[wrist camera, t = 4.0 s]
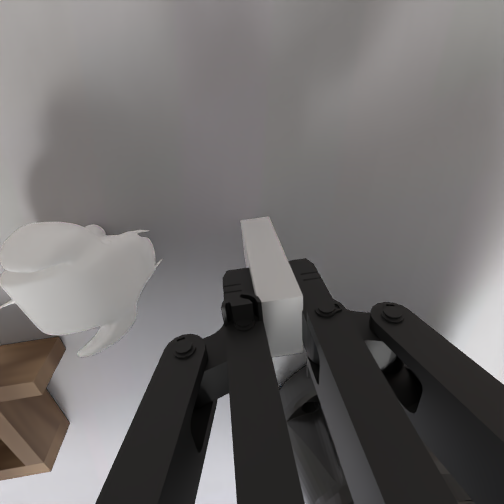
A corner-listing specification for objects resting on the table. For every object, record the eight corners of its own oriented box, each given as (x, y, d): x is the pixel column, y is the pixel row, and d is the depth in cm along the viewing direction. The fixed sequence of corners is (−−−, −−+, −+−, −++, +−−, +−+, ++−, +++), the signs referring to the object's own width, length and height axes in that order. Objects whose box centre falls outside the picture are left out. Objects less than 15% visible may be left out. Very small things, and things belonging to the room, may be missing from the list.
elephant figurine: (184, 274, 19) (176, 346, 14) (64, 311, 20) (14, 394, 14) (135, 171, 16) (100, 218, 11) (-10, 217, 16) (-112, 284, 11)
